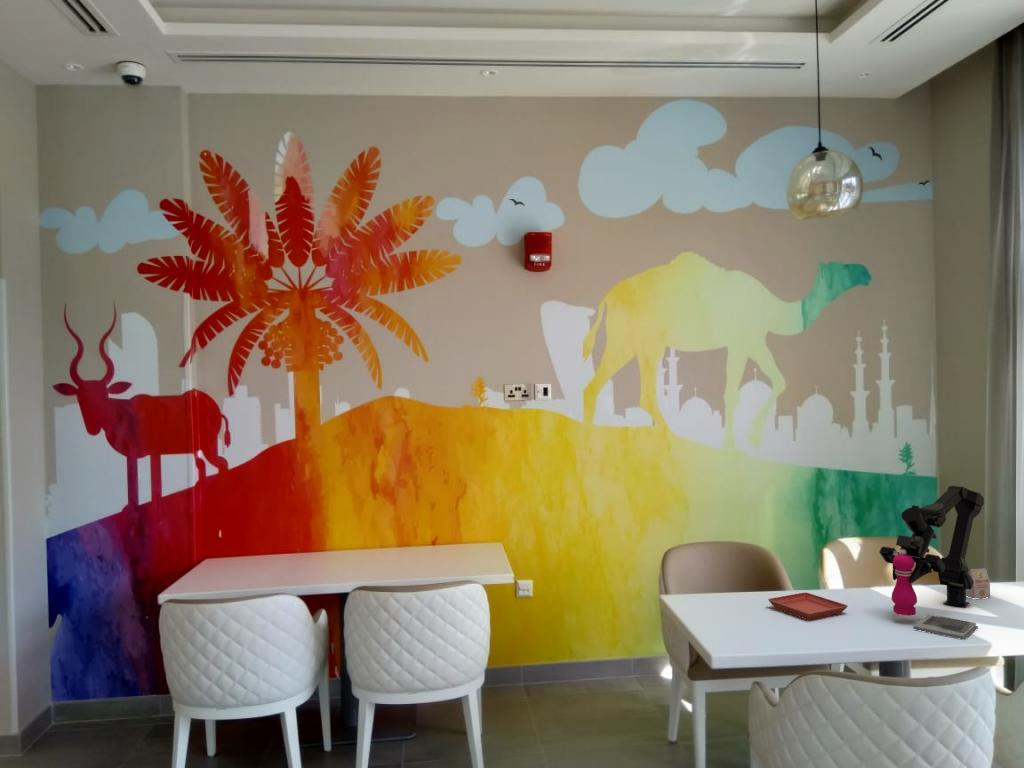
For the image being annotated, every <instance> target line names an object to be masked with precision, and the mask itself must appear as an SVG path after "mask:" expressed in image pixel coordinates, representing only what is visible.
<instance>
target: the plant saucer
mask: <svg viewBox="0 0 1024 768" xmlns="http://www.w3.org/2000/svg"><path fill="white" fill-rule="evenodd" d="M767 600H768V601H769V602H770V604H771V605H772V606H773V607H774V608H775V609H776V610H778V609H779V611H781V610H782V612H784V611H785V612H784V613H787V612H788V614H790V613H791V615H793V614H794V615H793V616H796V615H797V616H796V617H799V616H800V617H799V618H802V617H803V618H802V619H804V618H806V619H805V620H807V619H811V620H815V619H814V618H816V619H820V618H819V617H821V618H825V617H824V616H826V617H830V616H829V615H831V616H835V615H834V614H836V615H839V613H840V614H842V613H843V612H844V611H845V610H846V609H847V608H848V607H849V606H848V604H844V603H842V602H838V601H836V600H832V599H829V598H825V597H823V596H820V595H816V594H812V593H810V592H805V591H804V592H799V593H795V594H794V593H793V594H788V595H782V596H776V597H772V598H770V597H769V598H768V599H767Z"/></svg>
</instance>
